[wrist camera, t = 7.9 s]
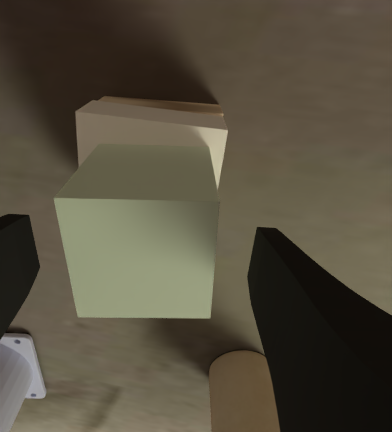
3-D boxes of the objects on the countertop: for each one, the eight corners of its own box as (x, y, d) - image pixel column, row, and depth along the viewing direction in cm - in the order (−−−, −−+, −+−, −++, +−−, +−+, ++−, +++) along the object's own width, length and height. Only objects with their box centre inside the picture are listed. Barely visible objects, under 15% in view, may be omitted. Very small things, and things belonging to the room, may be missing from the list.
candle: (250, 340, 26) (280, 493, 17) (283, 373, 28) (324, 524, 19) (195, 366, 27) (198, 519, 19) (230, 396, 30) (247, 545, 21)
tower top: (96, 214, 17) (82, 239, 15) (92, 100, 15) (75, 111, 12) (204, 225, 18) (206, 251, 16) (222, 116, 15) (227, 130, 13)
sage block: (109, 236, 15) (78, 317, 11) (98, 143, 13) (53, 197, 9) (203, 238, 15) (210, 318, 11) (209, 147, 13) (220, 201, 9)
